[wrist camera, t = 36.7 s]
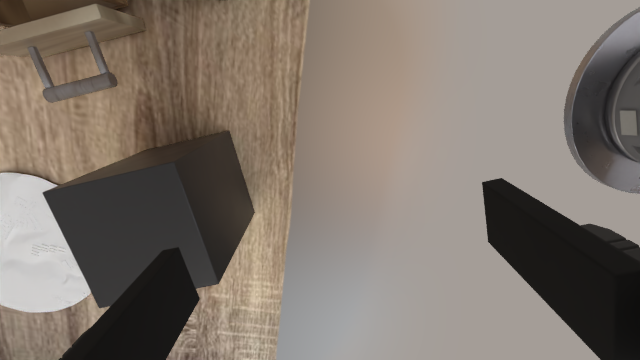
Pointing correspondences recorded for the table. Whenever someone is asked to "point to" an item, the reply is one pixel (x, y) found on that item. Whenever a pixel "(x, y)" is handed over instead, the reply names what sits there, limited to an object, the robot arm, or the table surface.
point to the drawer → (64, 36)
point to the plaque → (34, 250)
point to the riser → (155, 213)
